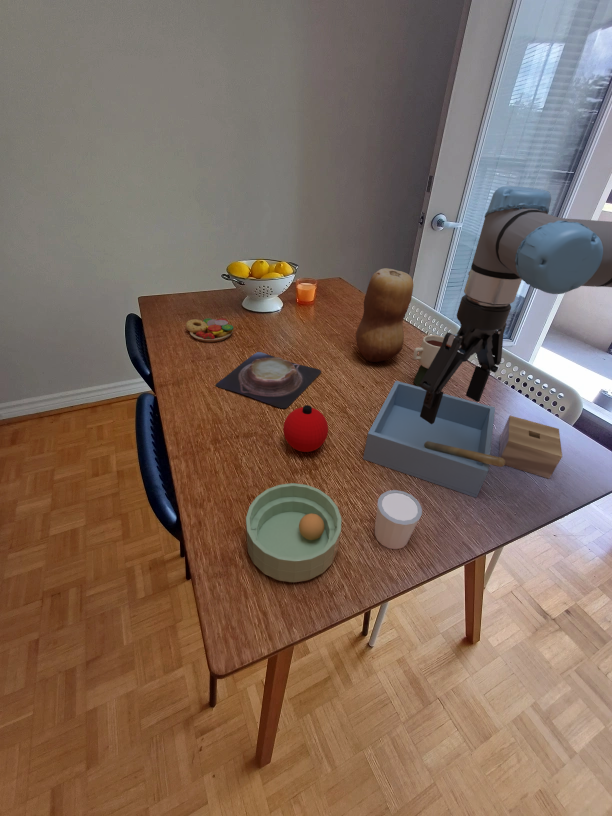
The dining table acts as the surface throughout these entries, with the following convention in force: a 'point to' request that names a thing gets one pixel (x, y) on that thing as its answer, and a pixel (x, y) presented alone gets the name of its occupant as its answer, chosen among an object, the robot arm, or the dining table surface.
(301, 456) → the dining table surface
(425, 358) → the character mug
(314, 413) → the ornament
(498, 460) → the stirring stick
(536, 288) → the robot arm
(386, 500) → the white cup
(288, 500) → the bowl
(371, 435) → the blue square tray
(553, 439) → the utensil block
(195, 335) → the toy food set
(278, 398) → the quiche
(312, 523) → the dough ball
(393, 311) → the butternut squash
